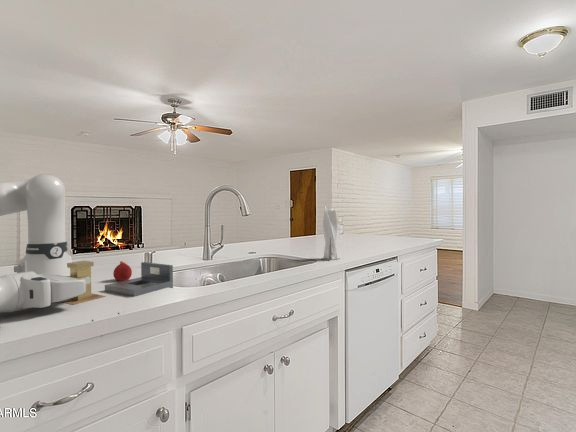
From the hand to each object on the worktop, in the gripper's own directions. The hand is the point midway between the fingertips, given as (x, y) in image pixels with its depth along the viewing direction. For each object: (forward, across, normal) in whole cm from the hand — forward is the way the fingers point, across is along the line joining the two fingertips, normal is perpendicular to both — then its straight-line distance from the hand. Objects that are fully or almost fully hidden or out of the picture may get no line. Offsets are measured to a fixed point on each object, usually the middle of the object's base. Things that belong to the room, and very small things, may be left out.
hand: (84, 278), depth 89 cm
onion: (+19, -11, -7) cm, 23 cm away
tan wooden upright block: (-1, 0, -5) cm, 5 cm away
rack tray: (+14, +5, -6) cm, 16 cm away
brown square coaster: (-1, 0, -6) cm, 7 cm away
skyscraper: (+103, +36, -7) cm, 109 cm away
